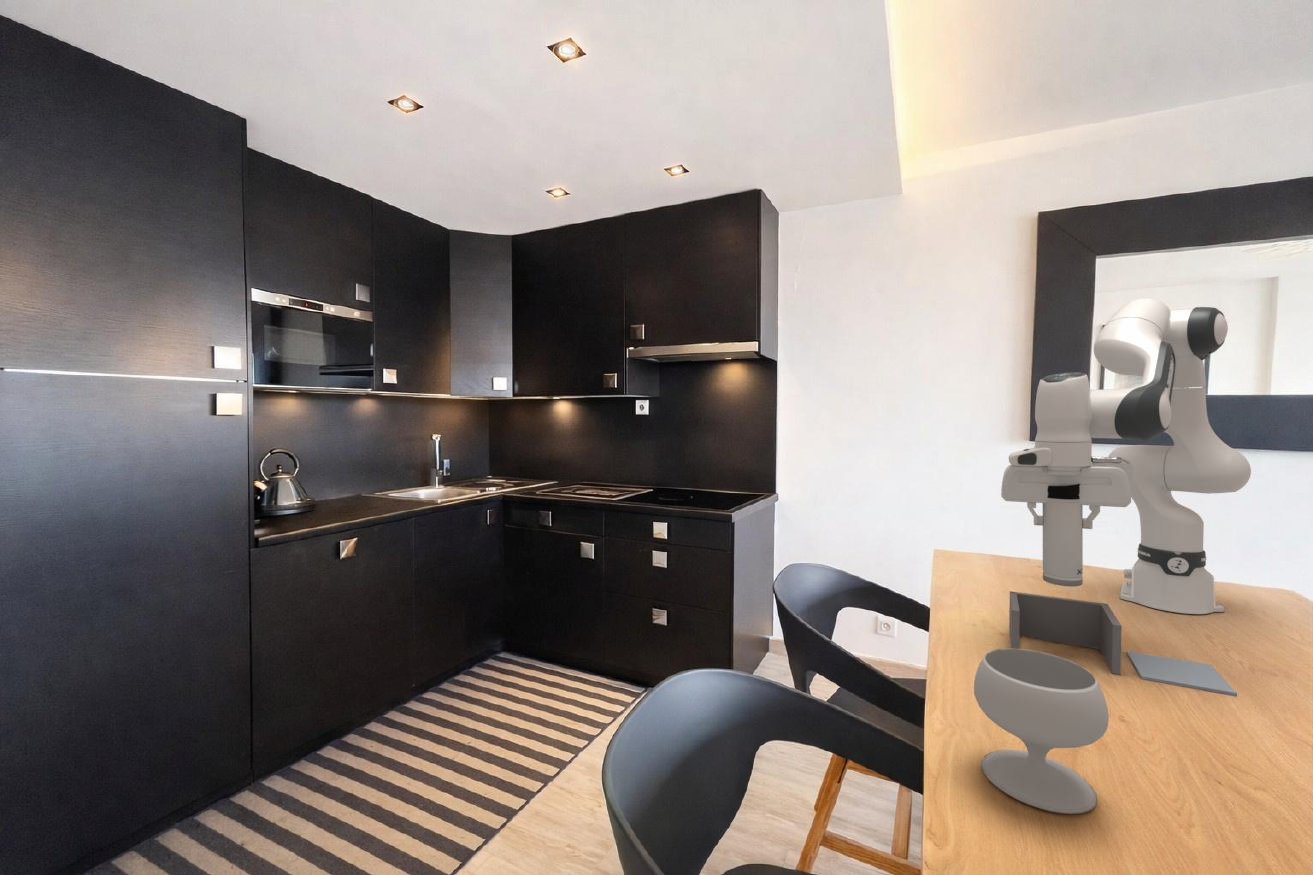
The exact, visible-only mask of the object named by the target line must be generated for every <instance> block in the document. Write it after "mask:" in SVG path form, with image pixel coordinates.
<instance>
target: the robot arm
mask: <svg viewBox="0 0 1313 875" xmlns="http://www.w3.org/2000/svg"><path fill="white" fill-rule="evenodd" d="M1228 327H1229V326H1228V322H1227V319H1226V318H1225V315H1224V313H1223V312H1222V311H1221V310H1219V309H1218V308H1217V307H1213V306H1211V307H1210V306H1196V307H1194V308H1182V309H1170V308H1169V307H1168V305H1166V304H1165V303H1164V302H1163V301H1160V300H1159V299H1154V298H1150V297H1147V298H1137V299H1134V300H1131V301H1129V302H1127V303H1126V304H1124V305H1122V307H1121V308H1120V309H1118V310H1117V311H1116V312H1115V313H1114V314H1113V315H1111V317H1110V318H1109V320H1108V321H1107V322H1106V323H1105V325H1104V326H1103V327H1102V329H1101V330H1100V332H1099V334H1097V337H1096V339H1095V341H1094V343H1093V344H1094V345H1093V354H1094V357H1095V359H1096V361H1097V362H1098V363H1099V364H1100V365H1101V366H1102V367H1103V368H1105V369H1106V370H1108V371H1110V372H1112V373H1115V374H1117V375H1125V376H1135V377H1136V376H1137V377H1141V384H1139V385H1137V386H1133V387H1132V386H1131V387H1126V388H1125V387H1124V388H1109V389H1091V386H1090V381H1089V378H1088V377H1089V376H1088V375H1087V374H1086V373H1083V372H1076V371H1074V372H1061V373H1054V374H1049V375H1046V376H1044V377H1042V378H1041V379H1040V380H1039V383H1038V385H1037V391H1036V396H1035V397H1036V398H1035V407H1034V410H1035V411H1034V421H1035V423H1036V427H1037V431H1036V432H1037V433H1036V435H1035V438H1034V447H1031V448H1025V449H1023V450H1018V451H1014V452H1012V453H1010V454H1009V456H1008V462H1009V465H1008V466H1007V467H1006V468H1005V470H1004V472H1003V474H1002V475H1003V476H1002V481H1001V489H1000V490H1001V494H1000V495H1001V498H1002V499H1003V500H1004V501H1005V502H1014V503H1016V502H1017V503H1018V502H1019V503H1026V506H1027V509H1028V510H1029V512H1030V513H1031V515H1032V516H1033V525H1034V526H1042V527H1043V515H1038V513H1037V512H1036V511H1035V509H1037V504H1043V503H1046V502H1048V500H1047V498H1048V486H1068V485H1076V484H1080V494H1079V496H1080V502H1079V503H1080V504H1081V505H1083V506H1088V509H1089V510H1090V511H1091V512H1090V513H1089V515H1088V516H1087V517H1086V518H1085V517H1083V529H1086V530H1087V529H1088V530H1093V528H1094V527H1093V521H1094V520H1095V519H1096V518H1097V517H1098V515H1100V513H1101V507H1110V508H1111V507H1113V508H1114V507H1115V508H1126V507H1128V506H1129V505H1130V504H1131V503H1132V501H1133V503H1135V506H1136V508H1137V511H1138V515H1139V522H1140V524H1139V525H1140V542H1139V544H1138V548H1137V558H1138V559H1137V560H1136V561H1135V563H1134V564H1133V565H1132V567H1131V568H1130V569H1129V568H1127V569H1123V572H1124V573H1123V574H1124V575H1123V577H1124V579H1128V580H1127V581H1124V582H1123V581H1122V582H1121V588H1120V593H1119V598H1120V600H1124V601H1127V602H1132V603H1136V604H1139V605H1142V606H1144V607H1149V608H1152V609H1157V610H1161V611H1167V612H1172V613H1178V614H1187V615H1188V614H1189V615H1207V614H1210V613H1222V612H1223V613H1224V612H1225V607H1224V606H1223V605H1222V604H1219V603H1217V602H1216V590H1215V589H1216V587H1215V577H1214V575H1213V574H1212V573H1211V572H1209V571H1208V570H1207V569H1206V568H1205V567H1206V565H1207V562H1206V561H1207V556H1206V555H1207V554H1206V551H1205V550H1204V532H1205V531H1204V529H1205V528H1204V527H1205V524H1204V521H1203V518H1202V517H1201V515H1200V514H1199V513H1197V512H1196V511H1194V510H1192V508H1189V507H1187V506H1185V505H1182V504H1180V503H1178V502H1177V501H1176V500H1175V499H1174V496H1173V495H1172V492H1185V493H1195V494H1225V493H1235V492H1236V493H1237V492H1238V491H1239V490H1241V489H1243V488H1244V487H1245V486H1246V485H1247V483H1248V482H1249V480H1250V478H1251V474H1252V469H1251V464H1250V462H1249V460H1248V459H1247V458H1246V457H1245V455H1244V454H1242V453H1241V452H1240V451H1238V450H1237V449H1234V448H1232V447H1231V446H1229V445H1228V444H1227V443H1225V442H1224V441H1223V440H1222V439H1221V438H1220V437H1218V435H1217V434H1216V433H1215V431H1214V429H1213V428H1212V426H1211V424H1210V421H1209V417H1208V410H1207V396H1206V395H1207V394H1206V393H1207V388H1206V386H1207V381H1206V380H1207V378H1206V370H1205V364H1204V360H1206V359H1207V358H1208V357H1209V355H1212V354H1213V353H1215V352H1216V351H1218V350H1219V349H1220V348H1221V347H1222V346H1223V345H1224V343H1225V340H1226V337H1227V335H1228V329H1229V328H1228ZM1164 433H1166V434H1167V435H1169V436H1170V438H1171V439H1172V441H1173V445H1161V444H1160V445H1158V444H1157V445H1154V444H1151V445H1150V444H1137V445H1128V446H1127V445H1126V446H1121V447H1116V448H1115V449H1113V450H1112V451H1111V452H1110V453H1109V454H1108V456H1093V455H1092V450H1093V449H1092V445H1093V442H1092V438H1093V439H1124V440H1130V441H1131V440H1132V441H1141V442H1142V441H1143V442H1149V441H1151V440H1153V439H1155V438H1157V437H1159V436H1160V435H1162V434H1164ZM1129 579H1130V580H1129Z"/></svg>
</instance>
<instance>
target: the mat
mask: <svg viewBox="0 0 1313 875" xmlns="http://www.w3.org/2000/svg"><path fill="white" fill-rule="evenodd" d="M1126 655H1127V657H1128V659H1129V661H1130V662H1131V664H1132V665H1133V667H1134V669H1135V671H1136V672H1137V674H1138V676H1139V678H1140V679H1141V680H1146V681H1150V682H1156V683H1161V684H1162V683H1163V684H1166V685H1172V684H1174V685H1173V686H1179V687H1182V688H1183V687H1184V688H1190V689H1196V690H1199V691H1200V690H1201V691H1207V692H1212V693H1217V694H1224V695H1228V696H1233V697H1238V693H1237V691H1236V690H1235V689H1234V688H1233V687H1232V686H1231V685H1230V684H1229V683H1228V681H1226V679H1225V678H1224V677H1223V676H1222V675H1221V674H1220V673H1219V672H1218V670H1217V669H1216V668H1215V667H1214V666H1213V665H1212V664H1209V663H1204V662H1197V661H1191V660H1185V659H1179V658H1172V657H1166V656H1161V655H1160V656H1159V655H1155V654H1148V653H1143V652H1135V651H1130V650H1126Z"/></svg>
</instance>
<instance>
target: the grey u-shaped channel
mask: <svg viewBox="0 0 1313 875" xmlns="http://www.w3.org/2000/svg"><path fill="white" fill-rule="evenodd" d="M1008 618H1009V620H1008V621H1009V623H1008V624H1009V628H1008V629H1009V630H1008V633H1009V642H1010V643H1009V644H1010V648H1016V649H1020V637H1023V636H1024V637H1025V638H1029V637H1030V639H1036V640H1037V639H1038V640H1043V641H1048V642H1054V643H1055V642H1056V643H1062V644H1067V645H1073V646H1080V647H1086V648H1092V649H1096V650H1100V652H1101V653H1102V656H1103V658H1104V660H1105V662H1106V663H1107V666H1108V668H1109V670H1110V672H1111V674H1113V675H1117V676H1121V675H1122V674H1121V673H1122V627H1123V626H1122V625H1121V622H1120V621H1119V620H1118V618H1117V616H1116V614H1114V612H1113V610H1112V609H1111V607H1110V605H1109V604H1108V603H1104V602H1103V603H1102V602H1097V601H1095V602H1094V601H1089V600H1079V599H1074V598H1073V599H1072V598H1067V597H1066V598H1065V597H1059V596H1058V597H1057V596H1050V595H1049V596H1048V595H1042V594H1034V593H1026V592H1021V591H1020V592H1018V591H1011V590H1010V591H1009V617H1008Z"/></svg>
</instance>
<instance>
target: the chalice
mask: <svg viewBox="0 0 1313 875" xmlns="http://www.w3.org/2000/svg"><path fill="white" fill-rule="evenodd" d="M973 695H974V698H975V700H976V701H977V702H976V703H977V704H978V707H979V709H980V710H981V711H982V712H983V713H984V715H986V717H987V718H988V719H990V721H992V722H993V723H994V724H996V725H997V726H998V727H999V728H1001V729H1002V730H1004V731H1006V732H1008V733H1009V734H1011V735H1012V736H1014V737H1016V738H1018V739H1019V740H1020V741H1021V742H1022V743H1023V745H1025V747H1026V749H1027V751H1024V750H1020V749H1019V750H1018V749H1017V750H1016V749H1000V750H995V751H991V752H990V753H988V754H986V755H985V756H984V757H983V758H982V760H981V765H980V766H981V770H982V772H983V773H984V775H985V776H986V779H988V780H989V782H990V783H991V784H993V786H995V787H996V788H998V789H999V790H1000V791H1002V792H1003V793H1005V795H1008V796H1010V797H1012V798H1014V799H1016V800H1017V801H1020V802H1021V803H1024V804H1026V805H1028V806H1032V807H1034V808H1038V809H1040V810H1043V811H1048V812H1052V813H1058V814H1065V815H1067V814H1069V815H1074V814H1077V815H1078V814H1084V813H1087V812H1090V811H1092V810H1093V809H1094V808H1095V807H1096V806H1097V804H1098V801H1099V800H1098V796H1097V792H1096V791H1095V789H1094V788H1093V786H1092V785H1091V784H1090V783H1089V782H1088V781H1087V779H1085V777H1083V776H1081V775H1080V774H1079V773H1077V772H1076V771H1075V770H1073V769H1072V768H1070V767H1068V766H1067V765H1064V764H1062V763H1060V761H1059V762H1058V761H1056V760H1054V759H1052V758H1050V757H1047V754H1048V752H1050V751H1051V750H1054V749H1072V748H1073V749H1077V748H1081V747H1086V746H1089V745H1092V744H1094V743H1095V742H1097V741H1098V740H1100V739H1101V738H1102V737H1104V735H1105V734H1106V732H1107V730H1108V727H1109V726H1108V725H1109V716H1110V715H1109V709H1108V705H1107V700H1106V697H1105V695H1104V692H1103V690H1102V688H1101V686H1100V684H1099V682H1098V680H1097V679H1096V676H1094V674H1093V673H1092V672H1091V671H1090V670H1088V668H1087V669H1086V668H1085V667H1083V666H1082V665H1080V664H1078V663H1076V662H1074V661H1072V660H1069V659H1067V658H1064V657H1061V656H1058V655H1054V654H1051V653H1048V652H1047V653H1046V652H1042V651H1039V650H1038V651H1037V650H1033V649H1028V648H1027V649H1026V648H1019V649H1016V648H1011V647H1010V648H997V649H994V650H990V651H988V652H987V653H986V654H985V655H984V657H982V659H981V661H980V662H979V664H978V667H977V669H976V673H975V676H974V682H973Z"/></svg>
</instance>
